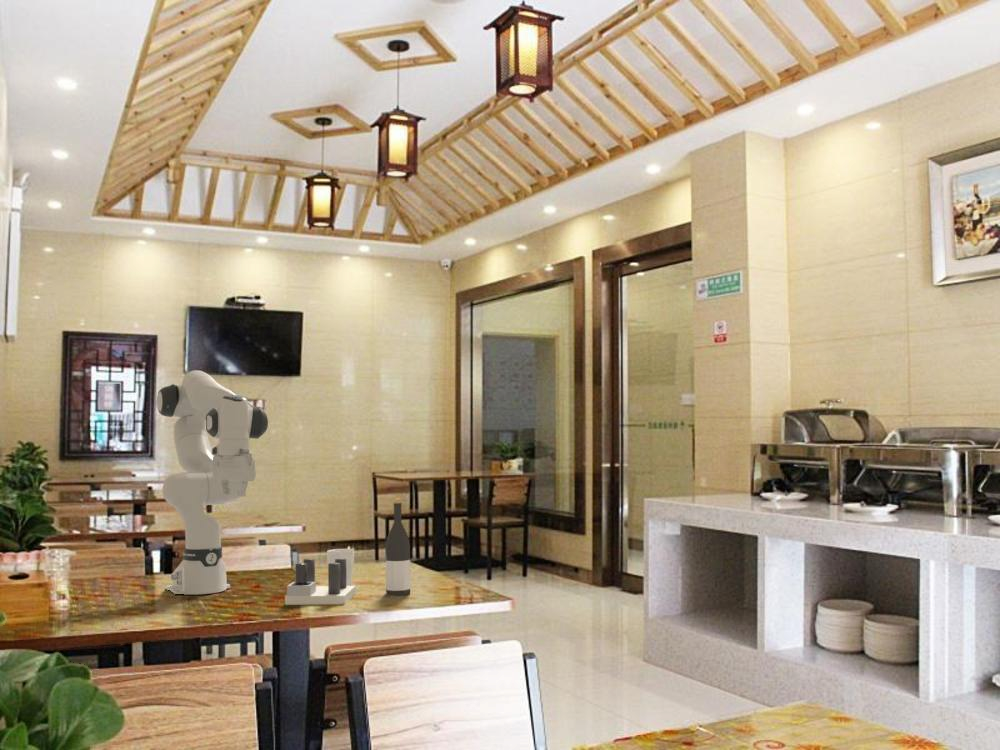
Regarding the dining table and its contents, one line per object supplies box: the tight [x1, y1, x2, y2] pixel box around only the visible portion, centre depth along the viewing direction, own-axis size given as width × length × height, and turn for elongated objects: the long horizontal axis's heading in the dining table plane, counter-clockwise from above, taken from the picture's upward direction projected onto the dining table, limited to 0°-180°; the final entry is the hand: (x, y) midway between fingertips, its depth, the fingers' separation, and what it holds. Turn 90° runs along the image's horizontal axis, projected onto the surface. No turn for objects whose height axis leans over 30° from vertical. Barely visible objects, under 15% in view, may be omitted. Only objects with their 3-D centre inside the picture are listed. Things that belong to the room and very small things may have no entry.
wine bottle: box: [385, 497, 411, 597], centre depth 292 cm, size 8×8×30 cm
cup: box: [326, 548, 355, 586], centre depth 306 cm, size 9×9×12 cm
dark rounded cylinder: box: [294, 562, 307, 585], centre depth 279 cm, size 4×4×9 cm
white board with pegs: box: [284, 558, 357, 606], centre depth 283 cm, size 18×18×12 cm
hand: (233, 495), depth 274 cm, fingers open, 8 cm apart
